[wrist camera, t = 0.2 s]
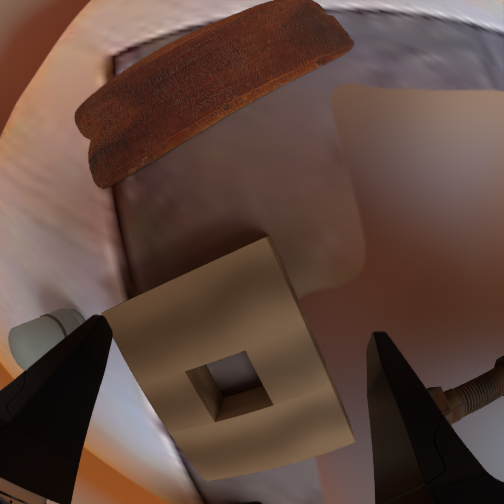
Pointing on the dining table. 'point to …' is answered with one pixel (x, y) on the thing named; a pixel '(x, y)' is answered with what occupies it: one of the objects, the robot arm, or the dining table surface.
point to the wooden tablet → (203, 82)
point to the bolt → (470, 394)
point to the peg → (41, 335)
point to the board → (226, 344)
